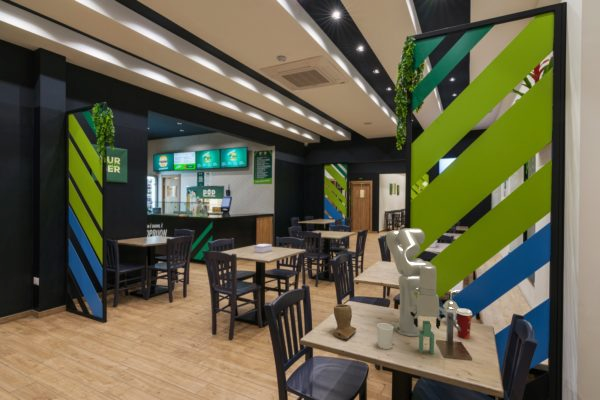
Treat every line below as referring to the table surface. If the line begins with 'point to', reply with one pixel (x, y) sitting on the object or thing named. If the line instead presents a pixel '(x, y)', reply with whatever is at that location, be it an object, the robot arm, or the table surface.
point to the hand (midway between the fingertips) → (426, 326)
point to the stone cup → (343, 321)
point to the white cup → (385, 335)
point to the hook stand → (452, 342)
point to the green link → (426, 333)
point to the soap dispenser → (451, 306)
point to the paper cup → (464, 322)
